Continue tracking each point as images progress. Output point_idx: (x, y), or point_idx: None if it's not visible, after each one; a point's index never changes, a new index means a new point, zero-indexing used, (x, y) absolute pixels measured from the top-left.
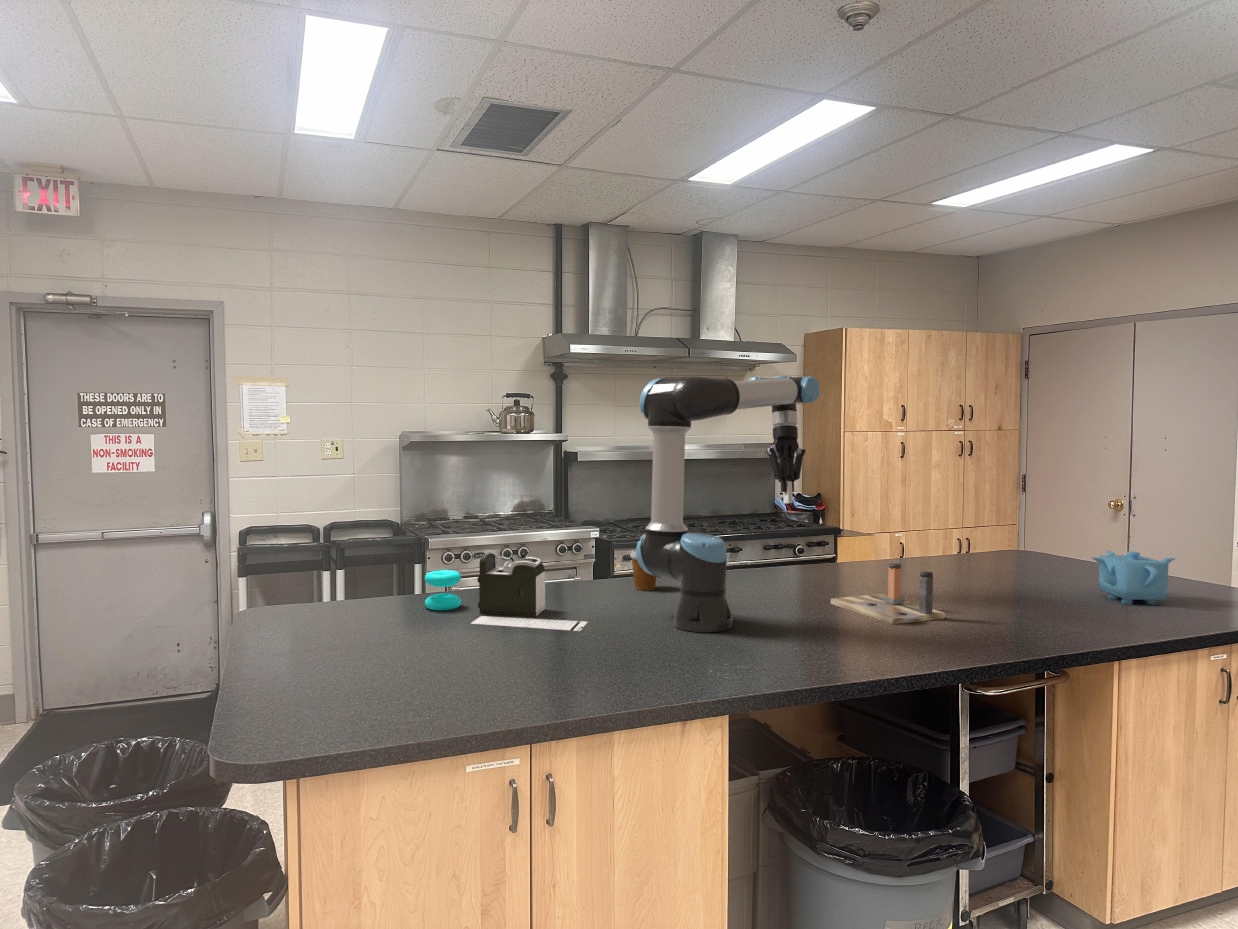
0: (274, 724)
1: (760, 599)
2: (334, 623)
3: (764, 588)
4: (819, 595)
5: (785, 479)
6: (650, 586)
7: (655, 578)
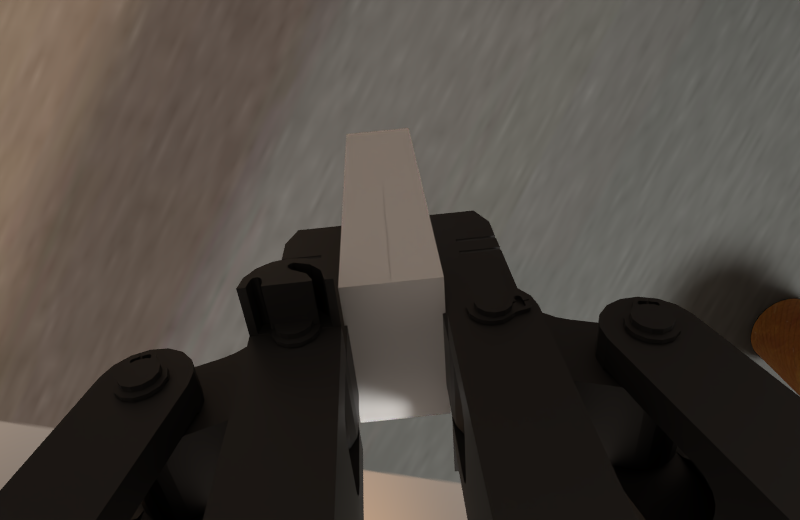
0: None
1: (490, 60)
2: None
3: None
4: (206, 70)
5: (506, 290)
6: (794, 304)
7: (789, 328)
